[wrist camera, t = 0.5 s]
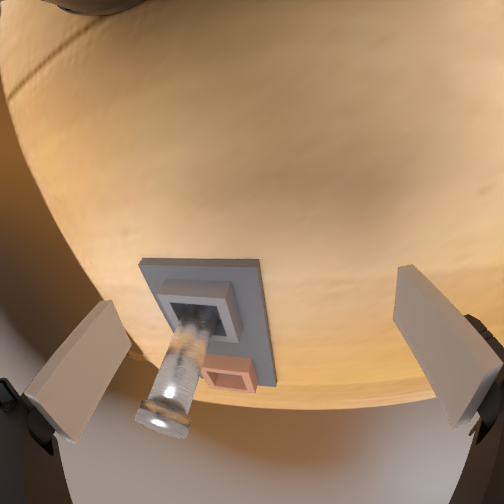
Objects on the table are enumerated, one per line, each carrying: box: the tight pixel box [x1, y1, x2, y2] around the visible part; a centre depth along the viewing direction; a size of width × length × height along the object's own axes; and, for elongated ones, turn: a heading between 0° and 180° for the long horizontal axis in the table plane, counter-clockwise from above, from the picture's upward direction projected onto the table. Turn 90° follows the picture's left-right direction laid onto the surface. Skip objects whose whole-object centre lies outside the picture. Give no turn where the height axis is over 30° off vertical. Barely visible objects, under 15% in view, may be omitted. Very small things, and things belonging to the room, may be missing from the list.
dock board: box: [138, 258, 277, 394], centre depth 37 cm, size 28×14×4 cm, turn 8°
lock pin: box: [135, 304, 219, 439], centre depth 26 cm, size 5×5×16 cm
